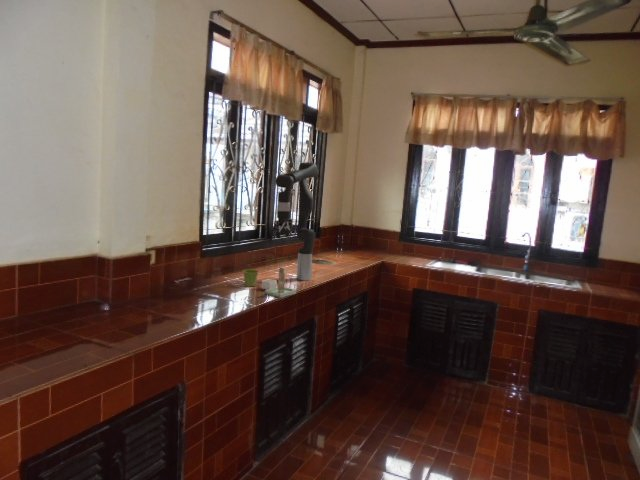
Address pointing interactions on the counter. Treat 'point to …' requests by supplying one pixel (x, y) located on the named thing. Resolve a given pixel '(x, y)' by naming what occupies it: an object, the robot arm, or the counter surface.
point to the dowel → (281, 280)
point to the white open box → (269, 284)
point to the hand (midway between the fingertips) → (282, 237)
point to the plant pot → (250, 277)
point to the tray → (275, 293)
